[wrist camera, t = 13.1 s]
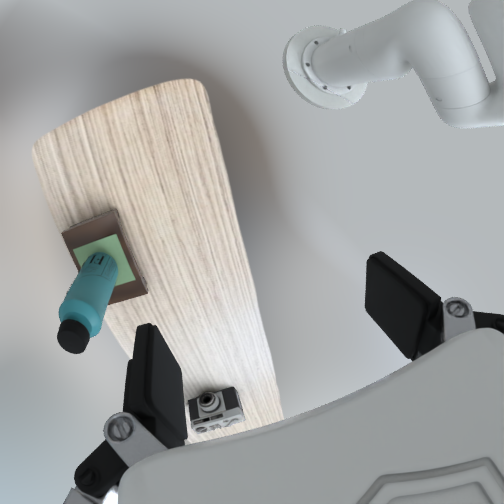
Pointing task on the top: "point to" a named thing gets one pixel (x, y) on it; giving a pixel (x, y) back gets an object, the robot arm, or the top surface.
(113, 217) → the shelf
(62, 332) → the beverage bottle
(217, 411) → the camera
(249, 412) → the top surface
